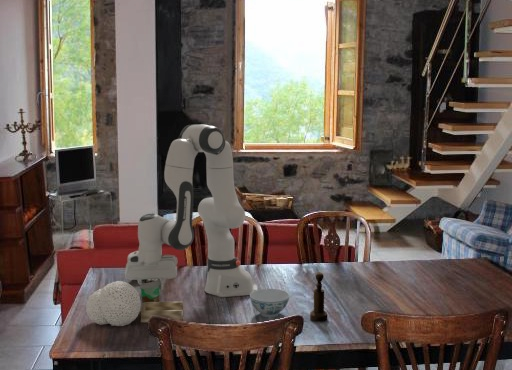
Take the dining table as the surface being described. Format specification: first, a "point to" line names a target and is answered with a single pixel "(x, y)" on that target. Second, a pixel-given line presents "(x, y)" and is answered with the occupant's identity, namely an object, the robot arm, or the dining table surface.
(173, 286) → the dining table surface
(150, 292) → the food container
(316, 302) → the pepper mill
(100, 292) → the white bumpy round lump
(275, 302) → the chinaware
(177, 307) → the wooden tray
